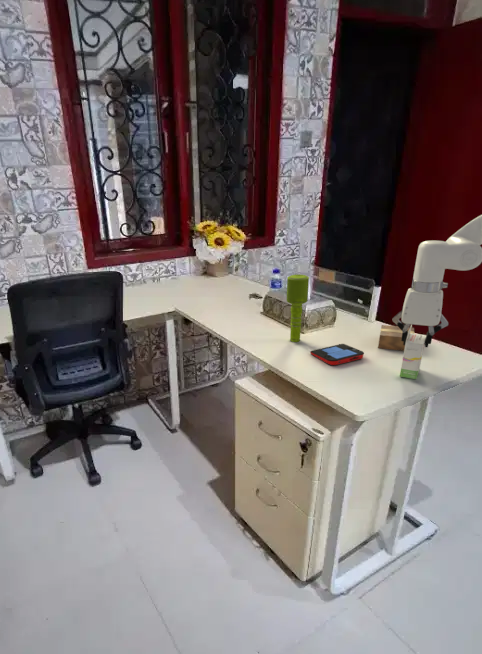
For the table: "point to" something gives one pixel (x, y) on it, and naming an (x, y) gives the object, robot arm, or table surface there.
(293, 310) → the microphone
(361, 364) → the table surface
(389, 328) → the cardboard box
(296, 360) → the table surface
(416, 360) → the ink box
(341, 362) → the game console
